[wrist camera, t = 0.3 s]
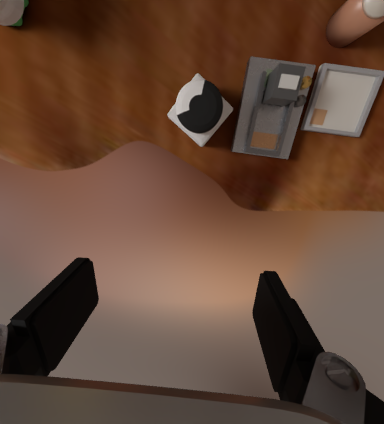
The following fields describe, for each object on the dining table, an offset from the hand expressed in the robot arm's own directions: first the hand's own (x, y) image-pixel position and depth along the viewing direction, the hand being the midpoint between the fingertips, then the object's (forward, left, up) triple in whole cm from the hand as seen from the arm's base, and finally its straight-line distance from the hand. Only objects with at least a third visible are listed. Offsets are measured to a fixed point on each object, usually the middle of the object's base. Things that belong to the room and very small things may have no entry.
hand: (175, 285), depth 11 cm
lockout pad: (-17, +22, -30) cm, 41 cm away
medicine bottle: (-12, -1, -30) cm, 33 cm away
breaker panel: (-14, +11, -30) cm, 35 cm away
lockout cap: (-27, +19, -30) cm, 45 cm away
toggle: (-17, +11, -27) cm, 34 cm away
